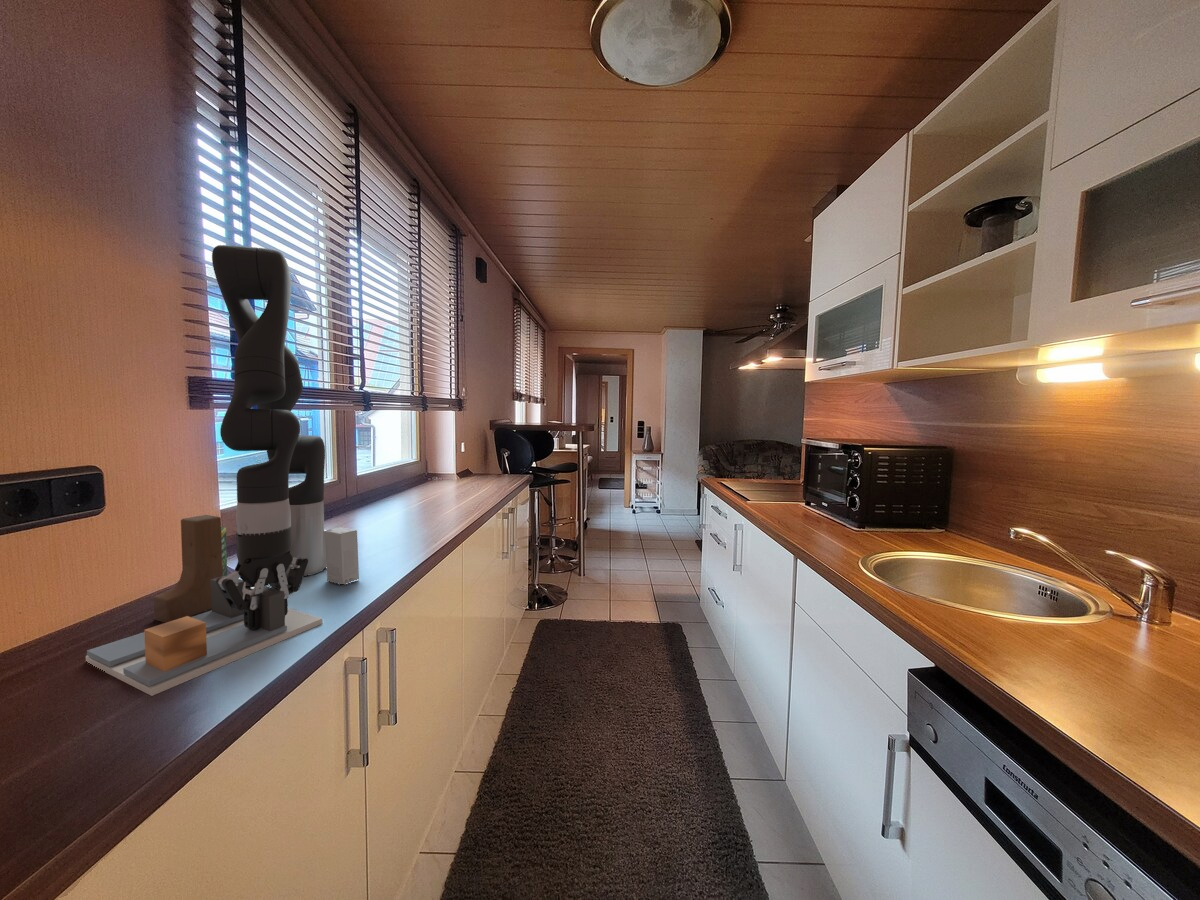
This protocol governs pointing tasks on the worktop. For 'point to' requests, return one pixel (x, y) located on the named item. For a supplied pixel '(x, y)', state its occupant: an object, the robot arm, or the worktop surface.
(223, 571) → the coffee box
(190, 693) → the worktop surface
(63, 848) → the worktop surface
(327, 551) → the skincare box
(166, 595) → the wooden block
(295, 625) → the lane board
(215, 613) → the strip empty
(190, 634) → the cube
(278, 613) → the strip with cube
